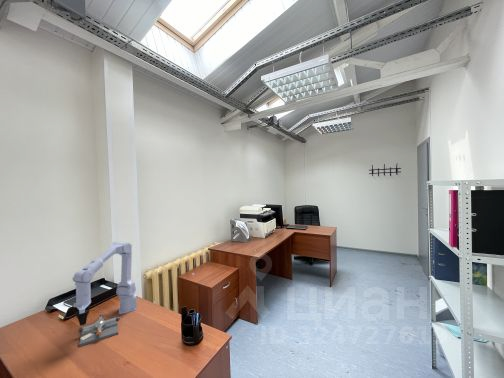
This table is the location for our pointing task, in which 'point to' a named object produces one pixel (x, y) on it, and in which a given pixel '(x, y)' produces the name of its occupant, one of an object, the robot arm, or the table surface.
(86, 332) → the stand plate
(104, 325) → the silver metal piece
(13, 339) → the table surface
